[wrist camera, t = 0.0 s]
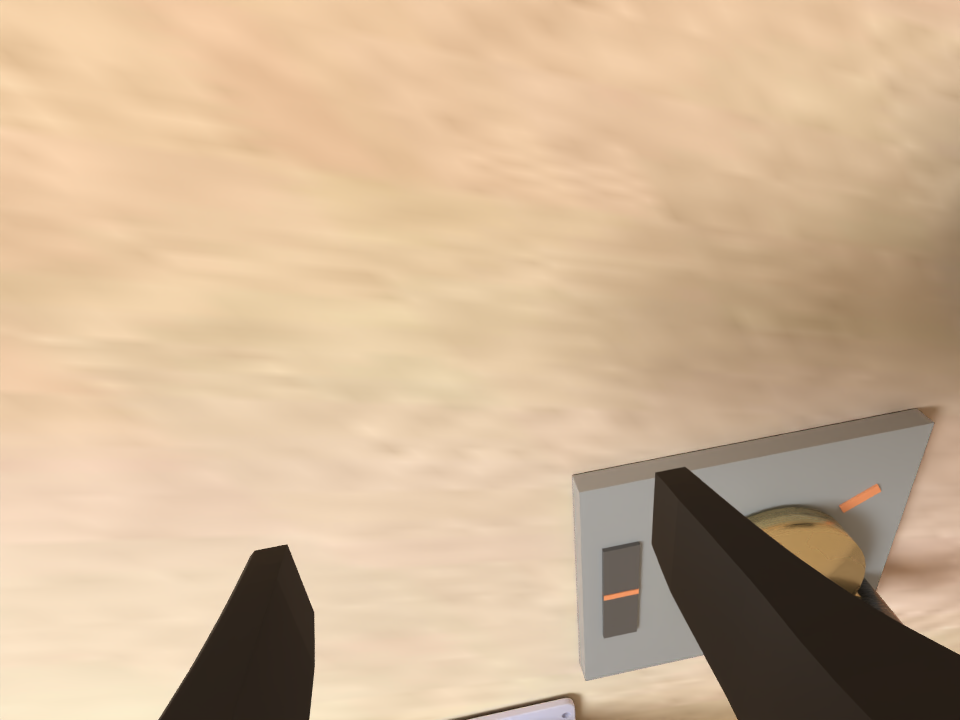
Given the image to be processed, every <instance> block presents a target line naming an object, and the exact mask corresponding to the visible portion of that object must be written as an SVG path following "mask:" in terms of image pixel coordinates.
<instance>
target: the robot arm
mask: <svg viewBox="0 0 960 720" xmlns="http://www.w3.org/2000/svg"><path fill="white" fill-rule="evenodd" d="M651 544H652V547H653V550H654V552H655V555H656V557H657V560H658V563H659V565H660V568H661V570H662V573H663V575H664V578H665V580H666V583H667V585H668V588H669V590H670V592H671V594H672V596H673V598H674V600H675V602H676V604H677V606H678V608H679V609H680V611H681V613H682V615H683V617H684V619H685V621H686V623H687V624H688V626H689V628H690V630H691V632H692V634H693V636H694V637H695V639H696V641H697V643H698V645H699V647H700V649H701V650H702V652H703V654H704V656H705V658H706V660H707V661H708V663H709V665H710V667H711V669H712V671H713V673H714V674H715V676H716V678H717V680H718V682H719V684H720V686H721V687H722V689H723V691H724V693H725V695H726V697H727V699H728V701H729V703H730V705H731V707H732V709H733V711H734V713H735V715H736V717H737V719H738V720H960V655H959V654H957V653H955V652H953V651H951V650H950V649H948V648H946V647H944V646H942V645H940V644H938V643H936V642H935V641H933V640H931V639H929V638H927V637H925V636H923V635H921V634H919V633H918V632H916V631H914V630H912V629H910V628H908V627H906V626H905V625H903V624H901V623H899V622H898V621H896V620H894V619H892V618H891V617H889V616H887V615H885V614H884V613H882V612H881V611H879V610H877V609H876V608H874V607H872V606H871V605H869V604H867V603H866V602H864V601H863V600H861V599H859V598H858V597H856V596H854V595H853V594H851V593H850V592H848V591H847V590H845V589H843V588H842V587H840V586H839V585H837V584H836V583H834V582H833V581H831V580H830V579H828V578H827V577H826V576H824V575H823V574H821V573H820V572H818V571H817V570H816V569H814V568H813V567H811V566H810V565H808V564H807V563H806V562H804V561H803V560H801V559H800V558H799V557H797V556H796V555H795V554H793V553H792V552H790V551H789V550H788V549H786V548H785V547H784V546H782V545H781V544H780V543H779V542H777V541H776V540H775V539H773V538H772V537H771V536H769V535H768V534H767V533H766V532H764V531H763V530H762V529H760V528H759V527H758V526H756V525H755V524H754V523H753V522H751V521H750V520H749V519H748V518H746V517H745V516H744V515H743V514H742V513H740V512H739V511H738V510H737V509H735V508H734V507H733V506H732V505H731V504H729V503H728V502H727V501H726V500H725V499H723V498H722V497H721V496H720V495H719V494H717V493H716V492H715V491H714V490H713V489H711V488H710V487H709V486H708V485H707V484H706V483H704V482H703V481H702V480H701V479H700V478H699V477H697V476H696V475H695V474H694V473H693V472H691V471H690V470H689V469H687V468H686V467H681V468H675V469H670V470H665V471H660V472H655V486H654V504H653V523H652V541H651ZM314 667H315V635H314V611H313V609H312V606H311V603H310V601H309V598H308V596H307V593H306V591H305V588H304V586H303V583H302V581H301V578H300V575H299V573H298V570H297V568H296V565H295V563H294V560H293V558H292V555H291V552H290V550H289V547H288V545H282V546H276V547H271V548H266V549H261V550H256V551H254V552H253V554H252V555H251V556H250V558H249V560H248V562H247V564H246V566H245V568H244V570H243V572H242V574H241V576H240V578H239V580H238V582H237V584H236V586H235V588H234V590H233V592H232V594H231V596H230V598H229V600H228V602H227V604H226V606H225V608H224V609H223V611H222V613H221V615H220V617H219V619H218V621H217V623H216V624H215V626H214V628H213V630H212V631H211V633H210V635H209V637H208V639H207V640H206V642H205V644H204V646H203V648H202V649H201V651H200V653H199V655H198V656H197V658H196V660H195V662H194V663H193V665H192V667H191V668H190V670H189V672H188V673H187V675H186V677H185V678H184V680H183V681H182V683H181V685H180V686H179V688H178V689H177V691H176V693H175V694H174V696H173V697H172V699H171V701H170V702H169V704H168V706H167V707H166V709H165V710H164V712H163V713H162V715H161V717H160V718H159V720H309V716H310V707H311V697H312V688H313V678H314ZM468 720H576V718H575V706H574V702H573V700H572V699H570V698H562V699H558V700H553V701H549V702H544V703H540V704H535V705H531V706H526V707H522V708H517V709H513V710H508V711H504V712H499V713H495V714H490V715H486V716H481V717H477V718H472V719H468Z"/></svg>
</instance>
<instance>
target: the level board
mask: <svg viewBox="0 0 960 720" xmlns="http://www.w3.org/2000/svg"><path fill="white" fill-rule="evenodd" d="M933 425H934V422H933V421H932V420H930V419H929V418H928V417H927V416H925V415H924V414H923V413H922V412H920V411H919V410H918V409H912V410H906V411H901V412H896V413H891V414H886V415H881V416H875V417H870V418H865V419H860V420H855V421H850V422H845V423H839V424H834V425H829V426H824V427H819V428H814V429H809V430H803V431H798V432H793V433H788V434H783V435H778V436H773V437H767V438H762V439H757V440H752V441H747V442H742V443H737V444H731V445H726V446H721V447H716V448H711V449H706V450H701V451H695V452H690V453H685V454H680V455H675V456H670V457H665V458H659V459H654V460H649V461H644V462H639V463H634V464H628V465H623V466H618V467H613V468H608V469H603V470H598V471H592V472H587V473H582V474H577V475H572V481H573V506H574V531H575V556H576V581H577V606H578V631H579V656H580V665H581V668H582V671H583V675H584V678H585V681H588V680H593V679H597V678H602V677H606V676H611V675H615V674H620V673H624V672H629V671H634V670H638V669H643V668H647V667H652V666H656V665H661V664H665V663H670V662H674V661H679V660H684V659H688V658H693V657H697V656H702V655H704V654H703V652H702V650H701V649H700V647H699V645H698V643H697V641H696V639H695V637H694V636H693V634H692V632H691V630H690V628H689V626H688V624H687V623H686V621H685V619H684V617H683V615H682V613H681V611H680V609H679V608H678V606H677V604H676V602H675V600H674V598H673V596H672V594H671V592H670V590H669V588H668V585H667V583H666V580H665V578H664V575H663V573H662V570H661V568H660V565H659V563H658V560H657V557H656V555H655V552H654V550H653V547H652V544H651V541H652V523H653V504H654V486H655V472H660V471H665V470H670V469H675V468H681V467H686V468H687V469H689V470H690V471H691V472H693V473H694V474H695V475H696V476H697V477H699V478H700V479H701V480H702V481H703V482H704V483H706V484H707V485H708V486H709V487H710V488H711V489H713V490H714V491H715V492H716V493H717V494H719V495H720V496H721V497H722V498H723V499H725V500H726V501H727V502H728V503H729V504H731V505H732V506H733V507H734V508H735V509H737V510H738V511H739V512H740V513H742V514H743V515H744V516H745V517H746V518H748V517H750V516H753V515H756V514H759V513H762V512H766V511H770V510H774V509H780V508H790V507H803V508H811V509H816V510H819V511H822V512H825V513H826V514H828V515H830V516H832V517H833V518H834V519H835V520H836V521H837V522H838V523H839V524H840V525H841V526H842V528H843V529H844V530H845V531H846V532H847V533H848V535H849V536H850V537H851V538H852V539H853V540H854V542H855V543H856V544H857V545H858V546H859V548H860V549H861V550H862V552H863V555H864V557H865V563H866V568H865V575H864V578H865V579H866V580H867V581H868V582H869V583H870V585H871V586H872V587H873V588H874V590H875V591H876V589H877V586H878V583H879V580H880V577H881V574H882V572H883V569H884V566H885V563H886V560H887V557H888V554H889V551H890V549H891V546H892V543H893V540H894V537H895V534H896V531H897V529H898V526H899V523H900V520H901V517H902V514H903V511H904V509H905V506H906V503H907V500H908V497H909V494H910V491H911V488H912V486H913V483H914V480H915V477H916V474H917V471H918V468H919V466H920V463H921V460H922V457H923V454H924V451H925V448H926V446H927V443H928V440H929V437H930V434H931V431H932V428H933Z"/></svg>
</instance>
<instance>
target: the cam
mask: <svg viewBox="0 0 960 720" xmlns="http://www.w3.org/2000/svg"><path fill="white" fill-rule="evenodd" d="M748 519H749V520H750V521H751V522H753V523H754V524H755V525H756V526H758V527H759V528H760V529H762V530H763V531H764V532H766V533H767V534H768V535H769V536H771V537H772V538H773V539H775V540H776V541H777V542H779V543H780V544H781V545H782V546H784V547H785V548H786V549H788V550H789V551H790V552H792V553H793V554H795V555H796V556H797V557H799V558H800V559H801V560H803V561H804V562H806V563H807V564H808V565H810V566H811V567H813V568H814V569H816V570H817V571H818V572H820V573H821V574H823V575H824V576H826V577H827V578H828V579H830V580H831V581H833V582H834V583H836V584H837V585H839V586H840V587H842V588H843V589H845V590H847V591H848V592H850V593H851V594H853V595H854V596H856V597H858V598H859V599H861V600H863V601H864V602H866V603H867V604H869V605H871V606H872V607H874V608H876V609H877V610H879V611H881V612H882V613H884V614H885V615H887V616H889V617H891V618H892V619H894V620H896V621H898V622H899V623H901V624H903V623H902V622H901V621H900V620H899V619H898V617H897V616H896V615H895V614H894V613H893V611H892V610H891V609H890V608H889V606H888V605H887V604H886V603H885V602H884V600H883V599H882V598H881V597H880V596H879V594H878V593H877V592H876V591H875V590H874V588H873V587H872V586H871V585H870V583H869V582H868V581H867V580H866V579H865V578H864V575H865V568H866V563H865V557H864V555H863V552H862V550H861V549H860V548H859V546H858V545H857V544H856V543H855V542H854V540H853V539H852V538H851V537H850V536H849V535H848V533H847V532H846V531H845V530H844V529H843V528H842V526H841V525H840V524H839V523H838V522H837V521H836V520H835V519H834V518H833V517H832V516H830V515H828V514H826V513H825V512H822V511H819V510H816V509H811V508H803V507H790V508H780V509H774V510H770V511H766V512H762V513H759V514H756V515H753V516H750V517H748Z"/></svg>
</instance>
